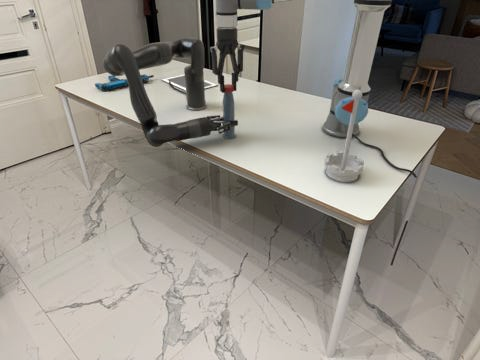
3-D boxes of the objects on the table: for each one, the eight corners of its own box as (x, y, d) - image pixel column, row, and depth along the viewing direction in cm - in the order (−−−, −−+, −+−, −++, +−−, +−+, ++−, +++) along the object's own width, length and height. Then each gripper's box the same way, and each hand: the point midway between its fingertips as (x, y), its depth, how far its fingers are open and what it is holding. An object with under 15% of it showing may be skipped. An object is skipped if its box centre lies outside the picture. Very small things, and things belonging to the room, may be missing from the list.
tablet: (161, 80, 213) (161, 79, 212) (188, 74, 224) (188, 73, 223) (189, 92, 192) (189, 92, 192) (218, 85, 203) (218, 84, 203)
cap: (236, 89, 136) (236, 85, 135) (230, 93, 132) (230, 88, 131) (226, 88, 137) (226, 83, 136) (220, 91, 134) (220, 86, 133)
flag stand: (346, 161, 127) (361, 81, 110) (369, 179, 117) (390, 94, 100) (316, 168, 123) (327, 86, 106) (337, 186, 113) (353, 99, 96)
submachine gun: (139, 68, 225) (158, 74, 208) (140, 74, 226) (158, 80, 210) (87, 78, 206) (103, 86, 189) (89, 84, 208) (104, 92, 191)
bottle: (232, 139, 143) (232, 89, 132) (222, 137, 144) (220, 88, 133) (236, 134, 147) (235, 86, 135) (225, 133, 148) (224, 85, 136)
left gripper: (203, 126, 129) (242, 117, 136) (189, 113, 140) (227, 106, 146) (204, 143, 133) (242, 134, 140) (191, 130, 144) (227, 122, 150)
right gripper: (244, 24, 128) (243, 85, 141) (200, 27, 122) (204, 91, 134) (253, 27, 122) (252, 90, 135) (208, 30, 116) (211, 97, 129)
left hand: (234, 120), depth 143 cm, fingers closed on bottle, 4 cm apart
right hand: (228, 90), depth 135 cm, fingers closed on cap, 4 cm apart
